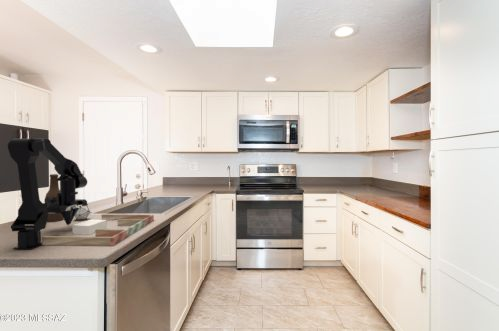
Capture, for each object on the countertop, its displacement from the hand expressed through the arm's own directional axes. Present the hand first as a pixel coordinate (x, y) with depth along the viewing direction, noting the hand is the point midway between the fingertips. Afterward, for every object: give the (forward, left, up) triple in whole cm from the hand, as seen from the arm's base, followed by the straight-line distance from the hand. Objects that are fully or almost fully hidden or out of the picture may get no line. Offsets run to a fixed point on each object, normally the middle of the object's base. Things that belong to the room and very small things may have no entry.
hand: (68, 224), depth 120 cm
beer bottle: (+18, +20, -3) cm, 27 cm away
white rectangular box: (0, -10, -3) cm, 10 cm away
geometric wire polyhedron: (+20, +7, -3) cm, 21 cm away
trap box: (0, -18, -2) cm, 18 cm away
